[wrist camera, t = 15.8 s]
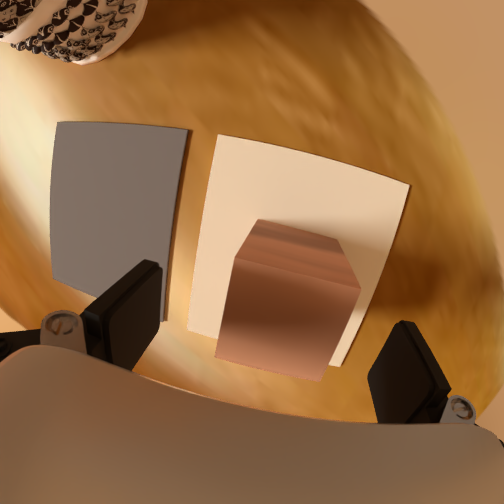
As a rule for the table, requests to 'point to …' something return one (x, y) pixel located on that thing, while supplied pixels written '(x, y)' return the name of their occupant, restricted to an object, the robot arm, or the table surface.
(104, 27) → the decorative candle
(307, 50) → the table surface
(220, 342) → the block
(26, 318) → the table surface
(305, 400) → the table surface
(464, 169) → the table surface
